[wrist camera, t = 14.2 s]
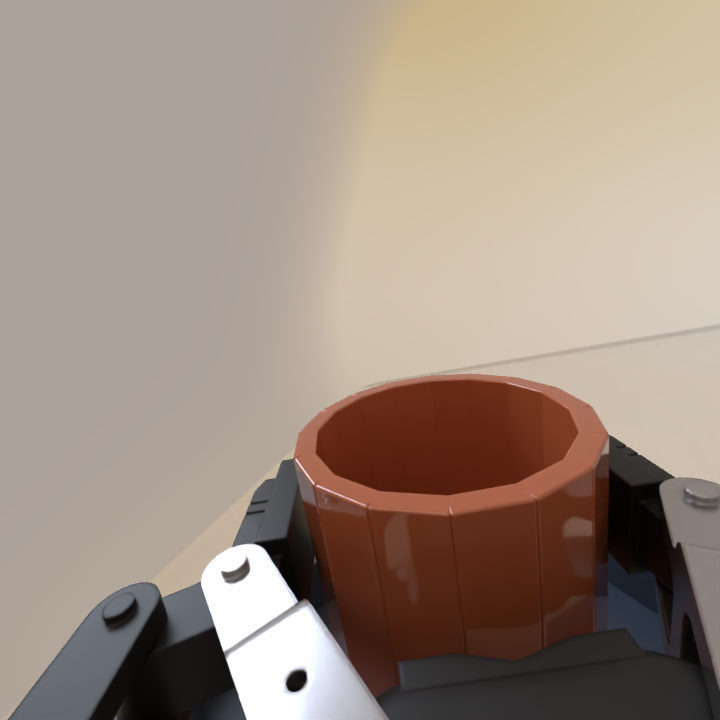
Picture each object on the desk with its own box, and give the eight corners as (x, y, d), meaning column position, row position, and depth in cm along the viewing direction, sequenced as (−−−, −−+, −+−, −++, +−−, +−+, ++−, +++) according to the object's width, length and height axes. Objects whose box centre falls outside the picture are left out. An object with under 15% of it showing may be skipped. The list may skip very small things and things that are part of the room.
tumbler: (453, 991, 7) (383, 584, 5) (324, 667, 13) (266, 420, 10) (664, 751, 9) (683, 417, 7) (475, 575, 15) (454, 361, 13)
